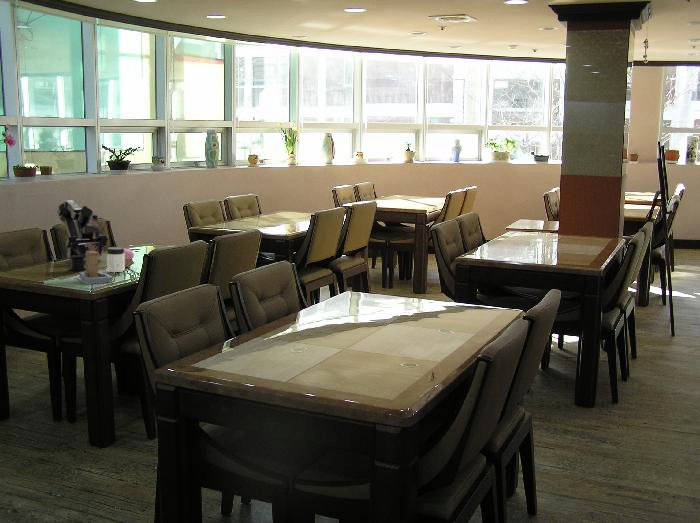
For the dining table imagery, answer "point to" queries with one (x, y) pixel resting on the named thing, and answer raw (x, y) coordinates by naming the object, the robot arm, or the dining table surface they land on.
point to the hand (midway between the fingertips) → (90, 255)
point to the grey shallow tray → (100, 279)
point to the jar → (115, 259)
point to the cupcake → (128, 257)
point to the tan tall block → (92, 264)
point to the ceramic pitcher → (93, 245)
